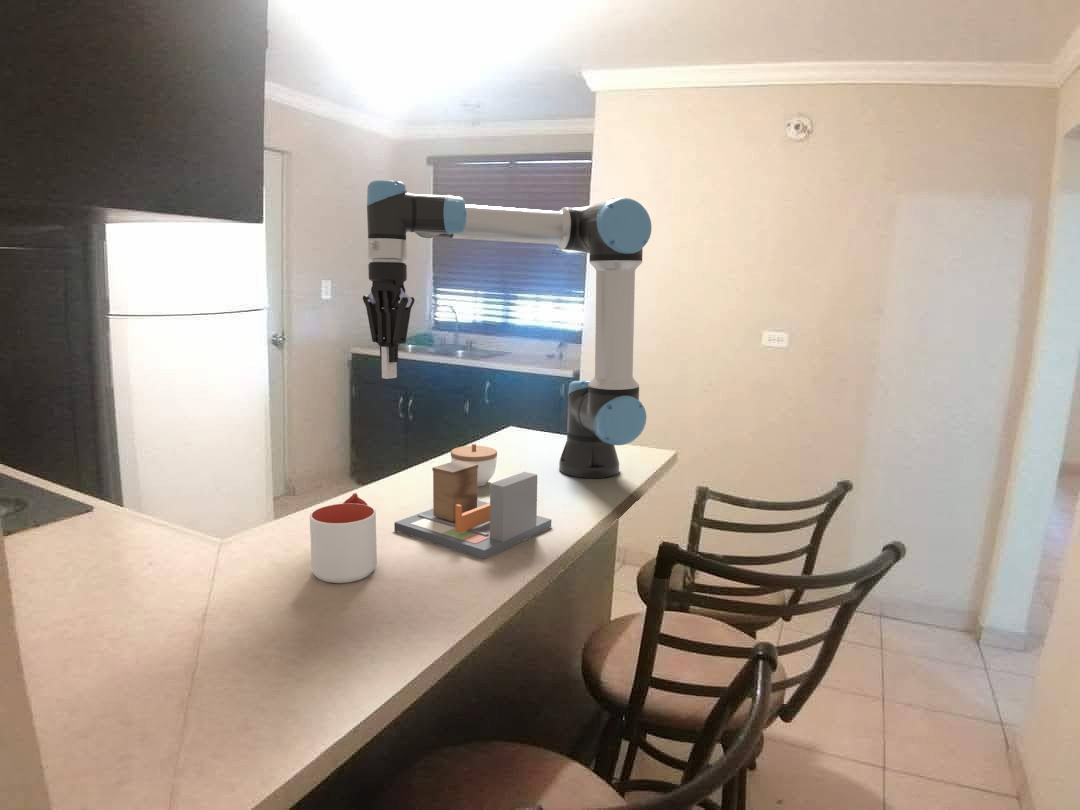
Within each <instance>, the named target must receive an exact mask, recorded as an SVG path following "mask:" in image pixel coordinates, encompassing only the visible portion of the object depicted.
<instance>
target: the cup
mask: <svg viewBox="0 0 1080 810" xmlns="http://www.w3.org/2000/svg"><path fill="white" fill-rule="evenodd" d="M367 505H368V504H367ZM367 505H363V504H353V503H345V504H343V503H335V504H329V505H325V506H321V507H319V508H317V509H315V510H313V511H312V512H311V513H310V514H309V528H310V529H309V530H310V531H309V532H310V556H311V558H310V559H311V561H310V562H311V570H312V573H313V575H314V576H315V577H316V578H317V579H318V580H321V581H323V582H326V583H330V584H331V583H333V584H346V583H351V582H357V581H360V580H362V579H365V578H367V577H368V576H370V575H371V574H372V573H373V572H374V571H375V568H376V567H377V564H378V563H377V562H378V560H377V559H378V558H377V554H378V553H377V516H376V515H377V513H376V512H377V511H376V509H374V507H371V506H370V505H368V506H367Z"/></svg>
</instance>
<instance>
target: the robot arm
mask: <svg viewBox="0 0 1080 810" xmlns="http://www.w3.org/2000/svg"><path fill="white" fill-rule="evenodd" d="M366 191H367V195H366V197H367V198H366V203H367V204H366V213H367V214H366V215H367V242H368V243H367V246H368V247H367V250H368V259H369V260H371V262H369V263H368V280H369V281H370V282H372V284H371V288H370V293H369V294H368V295H363V296H362V301H363V304H364V306H365V308H366V314H367V319H368V324H369V330H370V336H371V340H372V342H373V343H376V344H377V345H378V346H379V359H380V362H381V378H382V379H386V380H388V379H396V378H397V377H398V373H397V372H398V370H397V369H398V368H397V367H398V366H397V363H398V362H399V346H401V345H403V344H405V343H406V342H407V336H408V330H409V324H410V318H411V312H412V309H413V308H412V307H413V306H414V304H415V297H413V296H409V295H408V294H407V293H406V288H405V285H404V284H405V283H404V282H406V281H407V280H408V279H407V278H408V277H407V276H408V274H407V269H408V268H407V263H405V262H404V261H406V260H407V259H408V258H407V254H408V253H407V252H408V251H407V232H408V233H414V234H416V235H417V236H419V237H420V238H423V239H424V238H425V239H432V238H440V239H441V238H443V239H462V240H463V239H464V240H475V241H476V240H479V241H492V242H495V241H496V242H508V243H511V242H512V243H524V244H525V243H526V244H528V243H529V244H543V245H555V246H557V247H558V249H559V250H566V251H567V250H568V251H575V252H582V253H586V254H589V263H590V265H591V266H592V267H593V268H594V269H595V271H596V272H595V274H596V275H595V276H596V277H595V336H594V337H595V339H594V340H595V342H594V343H595V344H594V346H595V347H594V349H595V353H594V355H595V356H594V377H593V378H592V379H591V380H572V381H571V382H570V383H569V385H568V392H567V421H566V423H567V424H566V426H567V428H566V430H567V431H566V432H567V433H566V442H565V444H564V447H563V450H562V453H561V455H560V457H559V463H558V465H559V467H558V468H559V469H558V470H559V471H560V472H561V473H562V474H565V475H568V476H570V477H576V478H583V479H584V478H586V479H600V478H601V479H602V478H610V477H614V476H617V475H618V474H619V473H620V461H619V458H618V454H617V450H616V447H615V446H624V445H628V444H630V443H632V442H634V441H636V439H637V438H638V437H639V436H640V435H642V433H643V431H644V429H645V426H646V424H647V423H646V422H647V412H646V408H645V406H644V405H643V404H642V402H641V401H640V384H639V383H638V382H637V381H636V379H635V378H634V375H633V374H634V373H633V372H634V370H633V369H634V335H635V334H634V330H635V329H634V328H635V291H636V290H635V288H636V287H635V286H636V285H635V282H636V271H637V268H638V267H639V266H640V265H641V264H642V263H643V248H644V247H645V246H646V245H647V243H648V242H649V240H650V238H651V234H652V219H651V216H650V215H649V213H648V211H647V209H646V208H645V207H644V206H643V205H642V204H641V203H640V202H638V201H637V200H635V199H632V198H627V197H617V198H610V199H608V200H606V201H603V202H602V201H601V202H600V203H599V202H598V203H595V204H591V205H587V206H580V207H567V206H566V207H564V206H563V207H562V208H561V209H560V210H547V209H546V210H545V209H544V210H543V209H533V208H532V209H531V208H521V207H519V208H516V207H503V206H492V205H491V206H490V205H489V206H488V205H479V204H478V205H477V204H466V201H465V199H464V198H463V197H461V196H454V195H451V194H446V195H445V194H443V195H442V194H424V193H422V194H421V193H420V194H419V193H411V192H408V191H407V187H406V184H405V183H404V182H402V181H399V180H391V179H390V180H389V179H377V180H372V181H370V182H369V183H368V184H367V189H366Z"/></svg>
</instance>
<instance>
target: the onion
mask: <svg viewBox="0 0 1080 810" xmlns="http://www.w3.org/2000/svg"><path fill="white" fill-rule="evenodd" d="M345 503H353V504H363V505H367V506H369V505H368V503H367V502H366V501H365V500H364V499H362V498H360V497H359V496H358V493H357V492H354V493H352V495H351V496H349V498H347V499H346V500H345V501H343V503H342V504H345Z"/></svg>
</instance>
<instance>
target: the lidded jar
mask: <svg viewBox="0 0 1080 810" xmlns="http://www.w3.org/2000/svg"><path fill="white" fill-rule="evenodd" d="M497 456H498V451H497V449H495V448H493V447H490V446H483V445H477V444H476V443H471V445H464V446H459V447H455V448H453V449H451V451H450V459H451V462H454V461H457V460H459V461H464V462H468V463H473V464H477V465H478V468H477V488H478V486H479V487H483V485H484V486H485V485H487V484H488V482H489V481H490V480H491V479H492V478H493V476H494V475H495V471H496V467H497Z"/></svg>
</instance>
